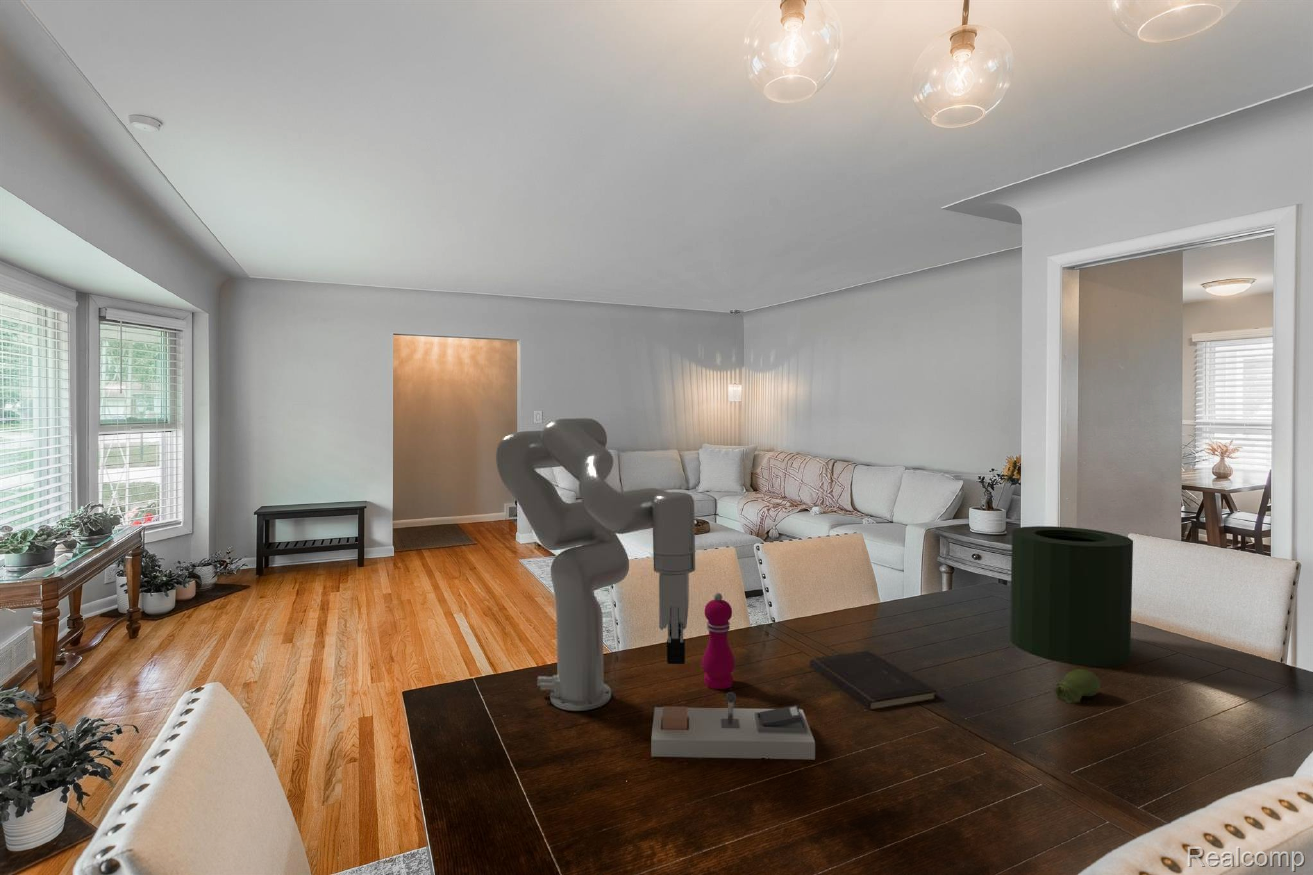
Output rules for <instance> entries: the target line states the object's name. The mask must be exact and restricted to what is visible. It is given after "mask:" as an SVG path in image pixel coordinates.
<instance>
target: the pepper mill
mask: <svg viewBox="0 0 1313 875" xmlns="http://www.w3.org/2000/svg"><path fill="white" fill-rule="evenodd" d="M703 613H704V617H705V618H706V619H707V622H706V629H707V630H708V634H709V637H708V644H707V646H706V648H705V651H704V653H703V655H702V660H701V661H702V662H701V666H702V669H703V671H704V672H705V673H704V676H703V677H704V678H703V681H704V682H703V683H704V686H706V687H708V688H710V689H713V690H726V689H729V688H730V687H732V686H733V684H734V676H733V673H732V672H733V671H734V670H735V668H736V661H735V660H736V659H735V657H734V656H735V655H734V654H733V652H732V649H731V648H730V645H729V640H728V639H729V638H728V633H729V632H728V631H729V630H730V629H731V627H730V625H731V623H730V620H731V618H732V615H733V609H732V607H731V605H730V603H729V602H728V601H726V600H724V599H723V595H722V593H720V592H717V593H715V594H714V596H713V599H711V600H710V601H708V602H707V603H706V605H705V607H704V612H703Z"/></svg>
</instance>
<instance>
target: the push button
mask: <svg viewBox="0 0 1313 875" xmlns="http://www.w3.org/2000/svg"><path fill="white" fill-rule="evenodd" d="M662 707H663V717H662V723H663V730H687V708H688V706H673V705H672V706H669V705H667V706H662Z"/></svg>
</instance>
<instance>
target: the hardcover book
mask: <svg viewBox="0 0 1313 875" xmlns="http://www.w3.org/2000/svg"><path fill="white" fill-rule="evenodd" d="M809 667H811V668H812V669H813V670H814V671H816V672H817V673H819V674H820V675H822V676H823V677H824V678H826V679H827V680H829V682H831V683H832V684H833V685H835V686H837V687H838V688H839V689H841V690H842V691H843V692H845V694H847V695H849V696H850V697H852V698H853V699H854V700H855V701H857V702H858V703H859V704H860V705H862V706H864V707H865V708H866V709H868V710H870V711H871V710H874V709H880V708H885V707H893V706H897V705H905V704H910V703H915V702H922V701H927V700H933V699H935V693H937V690H936V689H934V688H932V687H931V686H929V685H927V684H926V683H924V682H923V681H921V680H919V679H918V678H915V677H914V676H913V675H911V674H909V673H907V672H905V671H904V670H902V669H900V668H899V667H897V666H895V665H893V664H892V663H891V662H888V661H887V660H885V659H884V658H882V657H880V656H879V655H877V654H875V653H873V652H871V651H870V650H863V651H856V652H849V653H841V654H834V655H827V656H820V657H813V658H811V659H810V660H809Z"/></svg>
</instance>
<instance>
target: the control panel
mask: <svg viewBox="0 0 1313 875" xmlns="http://www.w3.org/2000/svg"><path fill="white" fill-rule="evenodd" d="M773 709H774V708H739V707H738V708H735V707H734V708H733V723H731V724H730V723H728V707H687V730H663V723H662V717H663V706H662V707H660V706H658V707H657V706H654V711H653V713H654V714H653V721H652V729H651V738H650V740H651V742H650V744H651V746H650V749H651V750H650V751H651V752H650V753H651V756H650V757H659V758H662V757H665V758H667V757H668V758H709V759H710V758H712V759H713V758H714V759H725V758H726V759H761V758H765V759H768V758H769V760H770V759H771V760H772V759H773V760H777V759H778V760H782V759H783V760H816V742H815V738H814V737H813V732H812V730H811V728H810V726H809V723H808V720H807V717H806V715H805V712H804V710H803V709H801V708H798V709H799V712H800V715H801V718H802V722H799V723H794V724H789V725H784V726H778V727H763V726H762V722H761V717H760V713H759V712H763V711H768V710H773Z"/></svg>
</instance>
